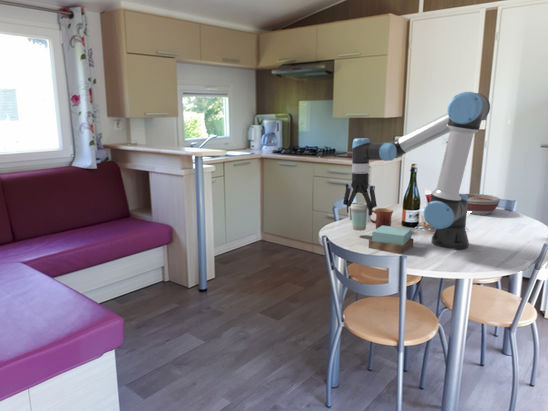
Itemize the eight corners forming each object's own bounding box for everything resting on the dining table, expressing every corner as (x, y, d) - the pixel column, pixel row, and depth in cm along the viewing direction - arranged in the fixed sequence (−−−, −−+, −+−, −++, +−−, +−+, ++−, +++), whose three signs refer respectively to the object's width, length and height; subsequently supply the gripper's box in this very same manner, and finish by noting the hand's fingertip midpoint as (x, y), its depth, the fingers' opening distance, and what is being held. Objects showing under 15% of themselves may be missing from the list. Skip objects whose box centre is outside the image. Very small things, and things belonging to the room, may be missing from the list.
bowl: (449, 209, 268) (451, 193, 266) (489, 210, 265) (490, 193, 263) (461, 217, 245) (463, 200, 243) (504, 218, 243) (506, 200, 241)
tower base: (413, 247, 191) (413, 238, 190) (400, 255, 180) (400, 246, 179) (382, 242, 199) (383, 233, 198) (368, 249, 188) (368, 240, 187)
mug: (393, 229, 220) (394, 208, 218) (391, 233, 212) (392, 212, 210) (369, 226, 224) (370, 207, 222) (365, 230, 216) (366, 210, 214)
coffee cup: (368, 231, 201) (369, 205, 199) (349, 231, 203) (349, 205, 201) (368, 227, 210) (369, 202, 207) (350, 226, 211) (350, 202, 209)
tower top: (411, 238, 191) (411, 229, 190) (402, 245, 180) (403, 235, 179) (381, 234, 197) (381, 225, 197) (372, 240, 186) (372, 231, 186)
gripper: (385, 173, 198) (384, 222, 202) (343, 170, 211) (343, 216, 215) (378, 174, 192) (377, 225, 196) (335, 172, 205) (335, 219, 209)
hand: (359, 221), depth 206 cm, fingers closed on coffee cup, 8 cm apart
